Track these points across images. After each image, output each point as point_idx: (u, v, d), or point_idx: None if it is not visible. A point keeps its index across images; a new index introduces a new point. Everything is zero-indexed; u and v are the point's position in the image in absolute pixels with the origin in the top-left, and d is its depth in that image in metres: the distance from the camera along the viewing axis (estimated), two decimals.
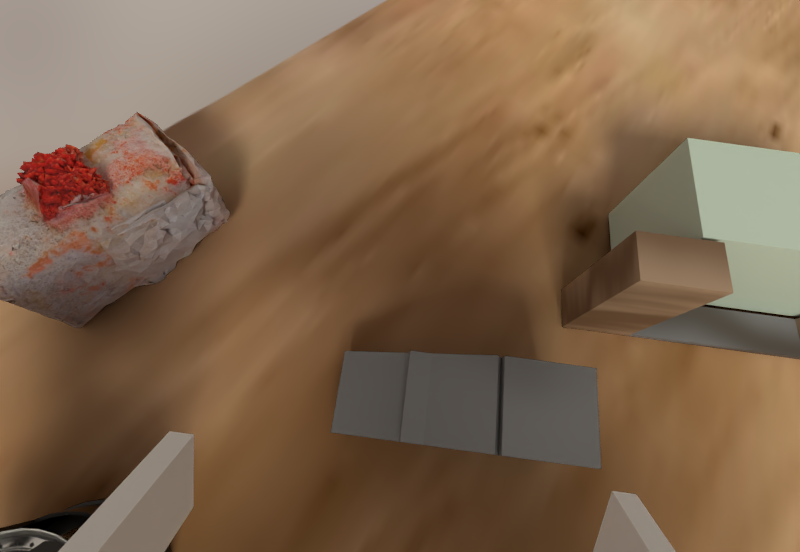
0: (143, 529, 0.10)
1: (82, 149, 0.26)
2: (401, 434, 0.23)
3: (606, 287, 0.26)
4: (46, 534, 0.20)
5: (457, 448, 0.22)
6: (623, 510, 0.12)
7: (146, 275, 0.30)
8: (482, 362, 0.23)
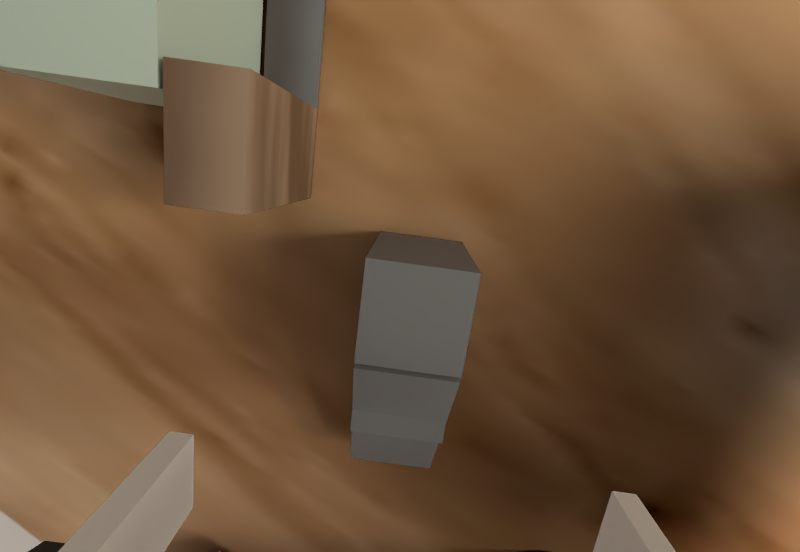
0: (143, 529, 0.10)
1: None
2: (435, 441, 0.22)
3: None
4: None
5: (451, 404, 0.21)
6: (623, 510, 0.12)
7: None
8: (361, 379, 0.20)
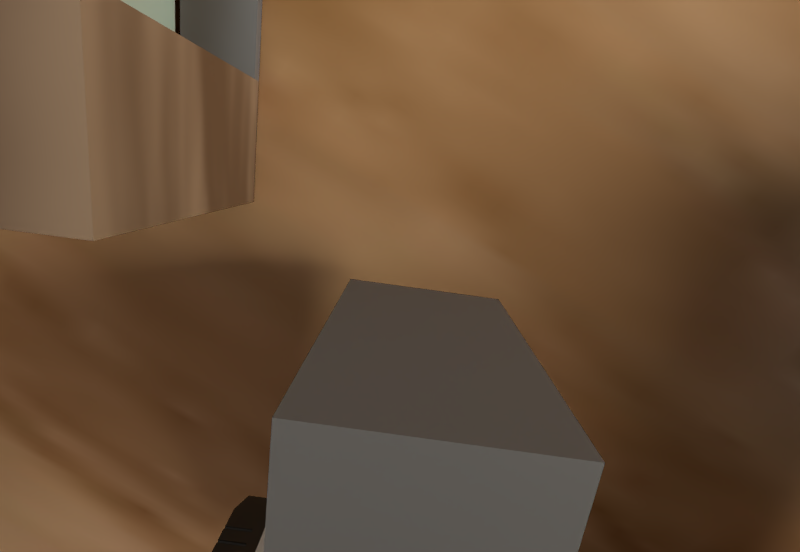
0: None
1: None
2: None
3: None
4: None
5: None
6: None
7: None
8: None
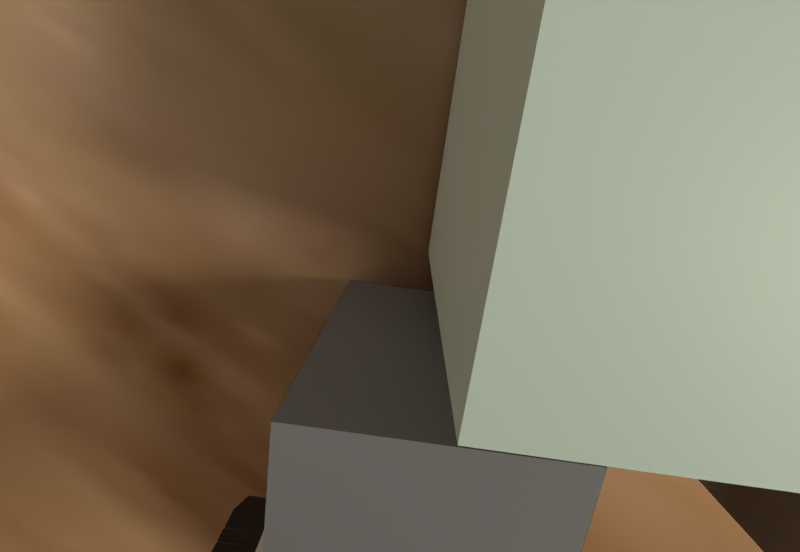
0: None
1: None
2: None
3: None
4: None
5: None
6: None
7: None
8: None
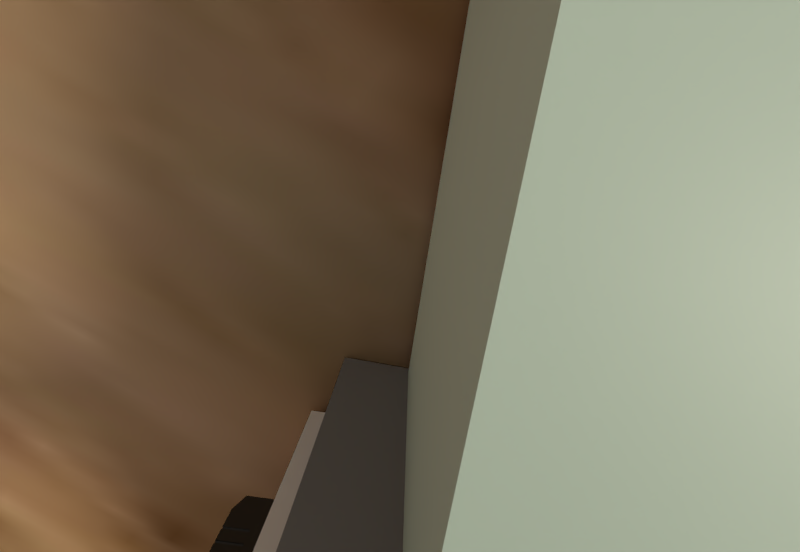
0: None
1: None
2: None
3: None
4: None
5: None
6: None
7: None
8: None
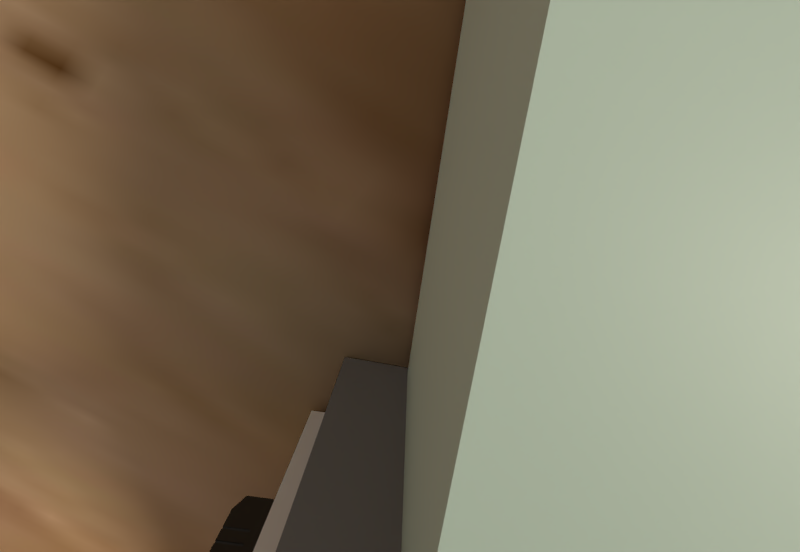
0: None
1: None
2: None
3: None
4: None
5: None
6: None
7: None
8: None
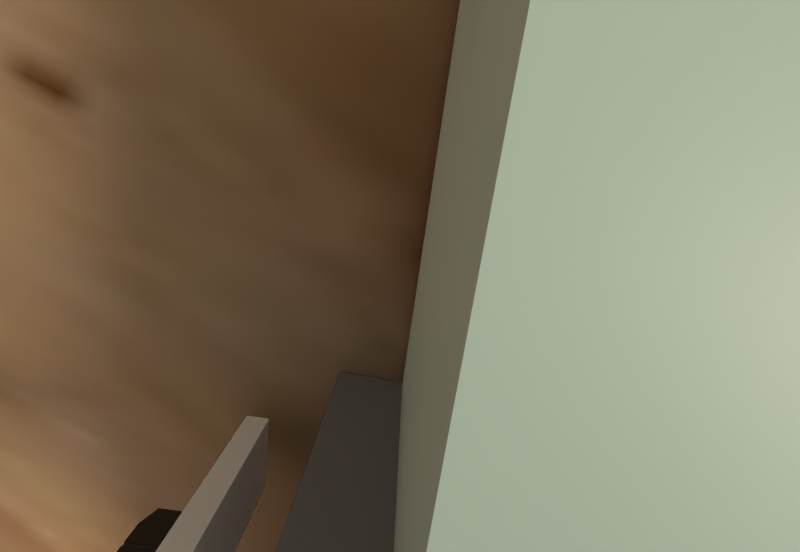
0: (238, 500, 0.12)
1: None
2: None
3: None
4: None
5: None
6: None
7: None
8: None
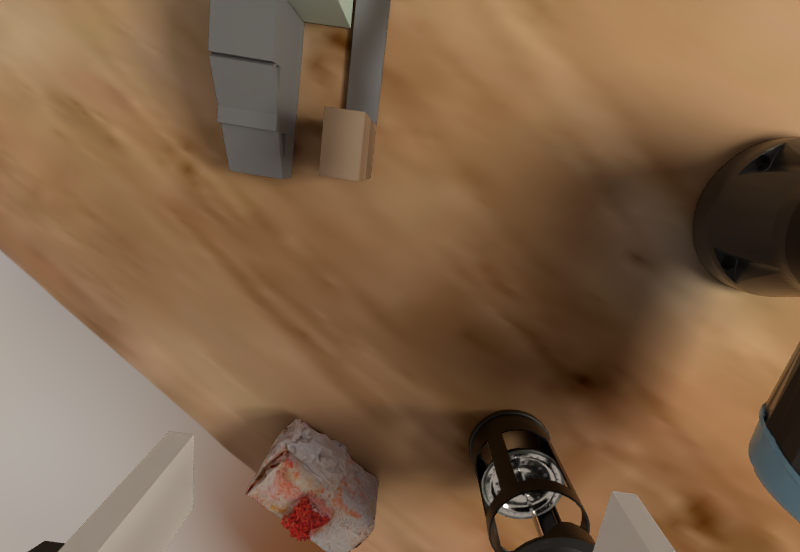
0: (144, 529, 0.11)
1: (279, 515, 0.43)
2: (271, 130, 0.35)
3: None
4: (484, 475, 0.43)
5: (274, 91, 0.34)
6: (623, 510, 0.12)
7: (344, 455, 0.48)
8: (216, 68, 0.33)
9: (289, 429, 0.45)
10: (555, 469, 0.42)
